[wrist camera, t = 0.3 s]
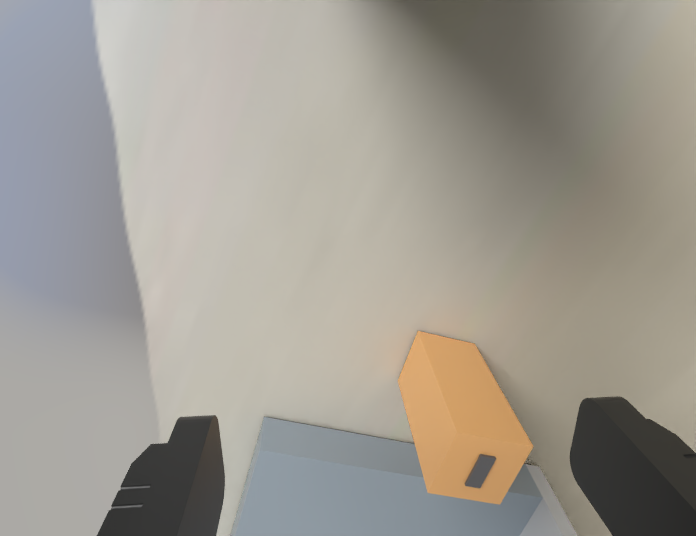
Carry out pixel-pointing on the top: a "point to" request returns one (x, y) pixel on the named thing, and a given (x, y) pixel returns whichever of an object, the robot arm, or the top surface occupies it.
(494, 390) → the block
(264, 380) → the top surface
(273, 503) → the grey slotted stand
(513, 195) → the top surface
